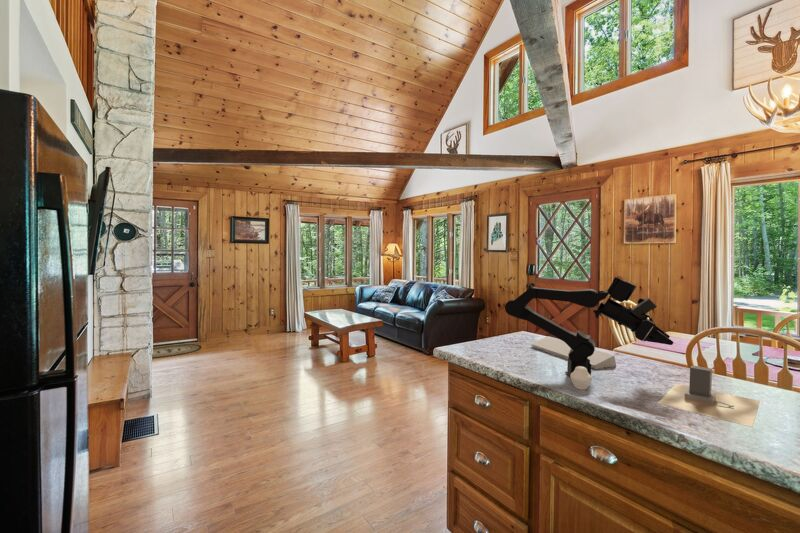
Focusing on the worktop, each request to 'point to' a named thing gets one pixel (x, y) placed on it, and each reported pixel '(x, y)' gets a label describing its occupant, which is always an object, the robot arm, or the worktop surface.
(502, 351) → the worktop surface
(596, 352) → the decorative molding
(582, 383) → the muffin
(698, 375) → the grey stepped block
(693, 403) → the birch board
